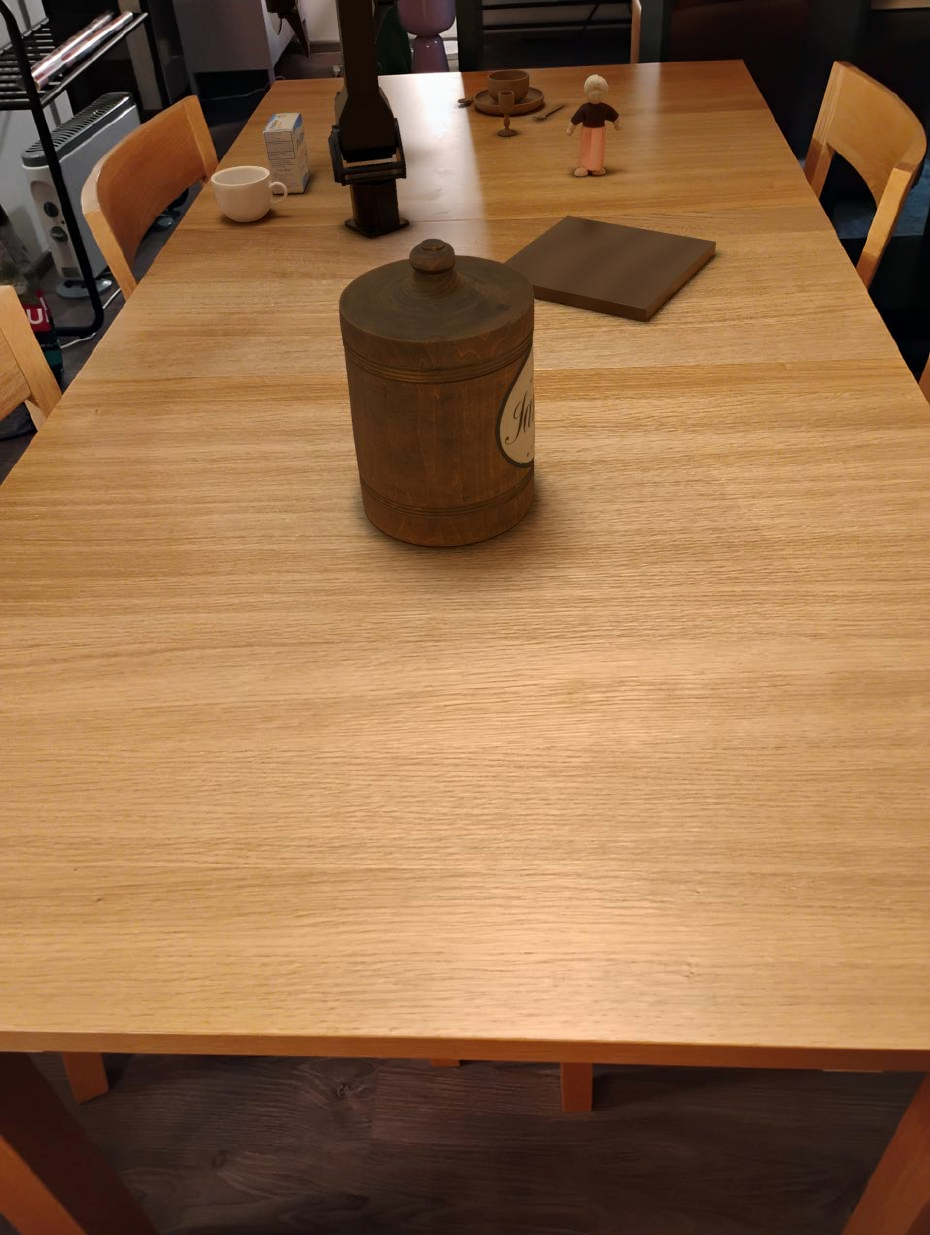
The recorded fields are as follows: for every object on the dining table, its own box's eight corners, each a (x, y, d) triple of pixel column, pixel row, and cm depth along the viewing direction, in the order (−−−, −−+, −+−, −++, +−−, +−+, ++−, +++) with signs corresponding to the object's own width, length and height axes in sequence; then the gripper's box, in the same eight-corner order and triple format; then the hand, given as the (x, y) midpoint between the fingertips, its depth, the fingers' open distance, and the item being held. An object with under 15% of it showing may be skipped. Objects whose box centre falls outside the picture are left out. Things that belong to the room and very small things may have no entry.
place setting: (572, 102, 168) (573, 63, 164) (513, 138, 155) (512, 97, 151) (484, 91, 175) (482, 54, 171) (420, 124, 163) (417, 85, 159)
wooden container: (559, 526, 82) (564, 265, 67) (384, 565, 79) (348, 302, 64) (504, 434, 92) (497, 191, 77) (347, 466, 90) (310, 221, 75)
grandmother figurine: (572, 180, 140) (574, 81, 132) (563, 172, 143) (564, 74, 135) (623, 172, 142) (628, 74, 133) (613, 164, 144) (618, 67, 136)
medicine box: (303, 193, 142) (293, 129, 136) (273, 195, 142) (261, 130, 136) (311, 174, 148) (301, 111, 142) (281, 176, 148) (271, 113, 142)
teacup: (212, 226, 134) (203, 185, 131) (229, 205, 140) (221, 165, 136) (283, 226, 133) (276, 185, 129) (298, 205, 138) (291, 165, 135)
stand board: (714, 253, 120) (716, 241, 119) (645, 322, 107) (646, 309, 106) (567, 227, 128) (567, 215, 127) (487, 287, 116) (486, 275, 115)
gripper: (387, -102, 135) (394, 21, 148) (249, -90, 133) (269, 34, 146) (401, -70, 129) (407, 56, 141) (256, -57, 126) (276, 70, 139)
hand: (339, 53), depth 142 cm, fingers open, 9 cm apart
